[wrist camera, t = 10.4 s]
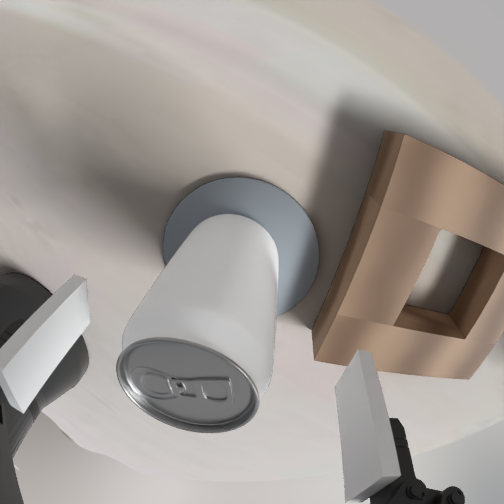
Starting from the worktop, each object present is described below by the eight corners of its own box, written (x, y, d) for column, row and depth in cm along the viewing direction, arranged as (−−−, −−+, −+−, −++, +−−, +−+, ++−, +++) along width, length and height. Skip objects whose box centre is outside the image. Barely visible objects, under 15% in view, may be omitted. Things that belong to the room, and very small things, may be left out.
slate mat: (159, 296, 24) (157, 300, 24) (177, 161, 19) (174, 162, 19) (292, 331, 24) (292, 335, 24) (339, 202, 20) (341, 204, 19)
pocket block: (311, 330, 24) (314, 360, 21) (384, 130, 17) (404, 134, 14) (456, 355, 24) (469, 379, 21) (532, 208, 17) (557, 222, 14)
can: (180, 213, 20) (82, 321, 9) (277, 209, 20) (267, 332, 9) (193, 296, 23) (135, 427, 12) (280, 296, 22) (273, 442, 11)
